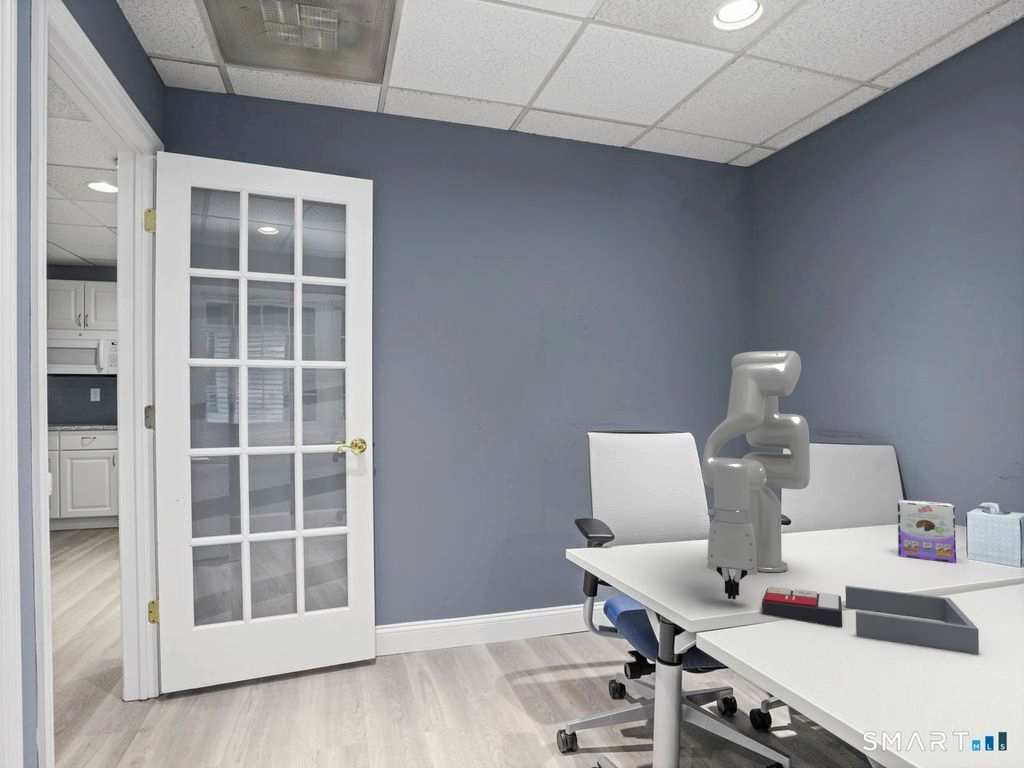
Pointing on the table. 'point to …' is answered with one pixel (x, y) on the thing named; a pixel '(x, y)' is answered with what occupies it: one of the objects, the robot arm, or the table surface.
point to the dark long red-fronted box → (803, 606)
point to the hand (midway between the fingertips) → (731, 597)
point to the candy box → (926, 530)
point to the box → (912, 619)
